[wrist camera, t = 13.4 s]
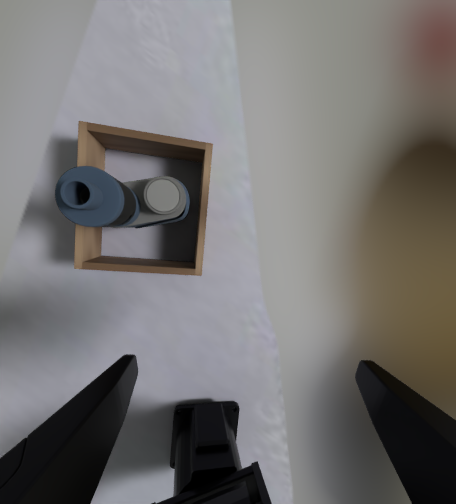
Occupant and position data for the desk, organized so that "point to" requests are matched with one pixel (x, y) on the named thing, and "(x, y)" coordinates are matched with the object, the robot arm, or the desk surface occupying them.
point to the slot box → (103, 136)
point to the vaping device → (119, 199)
